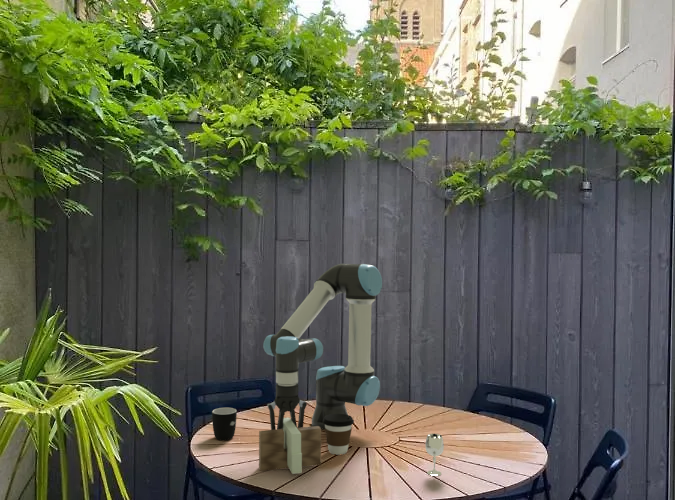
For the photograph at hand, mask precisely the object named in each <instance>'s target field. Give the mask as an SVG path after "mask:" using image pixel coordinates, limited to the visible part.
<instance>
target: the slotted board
mask: <svg viewBox="0 0 675 500" xmlns="http://www.w3.org/2000/svg"><path fill="white" fill-rule="evenodd" d="M297 429H298V430H299V431H300V433H301V453H302V468H303V466H306V467H313V466H312V465H316V466H321V465H322V429H321V428H320V427H319V426H303V427H301V428H297ZM258 431H259V432H258V436H259V437H258V469H259V471H260V472H264V471H267V472H268V471H275V470H284V469H289V467H288V465H287V448H285V449H284V431H283V429H277V428H276V430H271V429H266V430H258Z"/></svg>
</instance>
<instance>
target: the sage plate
mask: <svg viewBox="0 0 675 500" xmlns="http://www.w3.org/2000/svg"><path fill="white" fill-rule="evenodd" d="M297 427H298V426H297ZM297 427H296V426H295V425H294V423H293V422H292V420H291V417H284V419H283V426H282V429H283V431H284V449H285V448H287V465H288V467H289V468H288V469H289V471H290V472H291V474H292V475H294V474H295V475H296V474H302V471H303V467H302V453H301V433H300V431H299V430H298V429H297Z"/></svg>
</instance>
